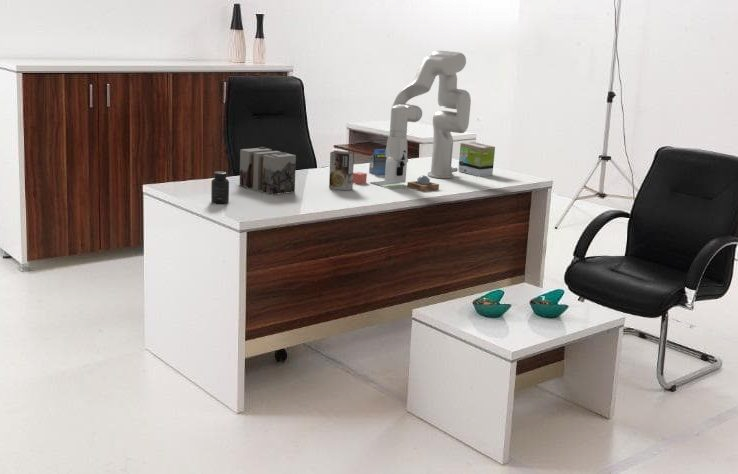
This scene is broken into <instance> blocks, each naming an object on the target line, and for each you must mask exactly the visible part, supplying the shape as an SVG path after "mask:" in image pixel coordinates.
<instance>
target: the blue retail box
mask: <svg viewBox="0 0 738 474" xmlns="http://www.w3.org/2000/svg"><path fill="white" fill-rule="evenodd" d="M373 151H374V152H373V154H372V155H370V156H369V165H368V166H369V169H368V173H369V174H371V175H373V176H374V175H382V174H383V175H385V166H386V159H387V158H386V157H385V155H386V148H374V149H373Z"/></svg>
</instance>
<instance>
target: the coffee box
mask: <svg viewBox="0 0 738 474" xmlns="http://www.w3.org/2000/svg"><path fill="white" fill-rule="evenodd" d="M329 154H330V155H329V156H330V157H329V178H328V179H329V185H328V189H332V190H340V191H341V190H342V191H348V192H349V191H350V190H352V189H354V188H353V187H354V185H353V184H354V183H353V173H354V166H355V165H354V161H355V159H354V158H355V151H353V152H352V151H345V150H333V151H330V153H329Z"/></svg>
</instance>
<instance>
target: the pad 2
mask: <svg viewBox="0 0 738 474" xmlns="http://www.w3.org/2000/svg"><path fill="white" fill-rule="evenodd" d="M379 187H381V188H385V189H388V190H390V189H391V190H393V189H399V188H408V187H407V184H405V183H397V184H387V185H380V186H379Z"/></svg>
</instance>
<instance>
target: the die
mask: <svg viewBox="0 0 738 474" xmlns="http://www.w3.org/2000/svg"><path fill="white" fill-rule="evenodd" d="M353 184H357V185H363V184H367V173H366V172H359V171H357V172H353Z"/></svg>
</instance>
